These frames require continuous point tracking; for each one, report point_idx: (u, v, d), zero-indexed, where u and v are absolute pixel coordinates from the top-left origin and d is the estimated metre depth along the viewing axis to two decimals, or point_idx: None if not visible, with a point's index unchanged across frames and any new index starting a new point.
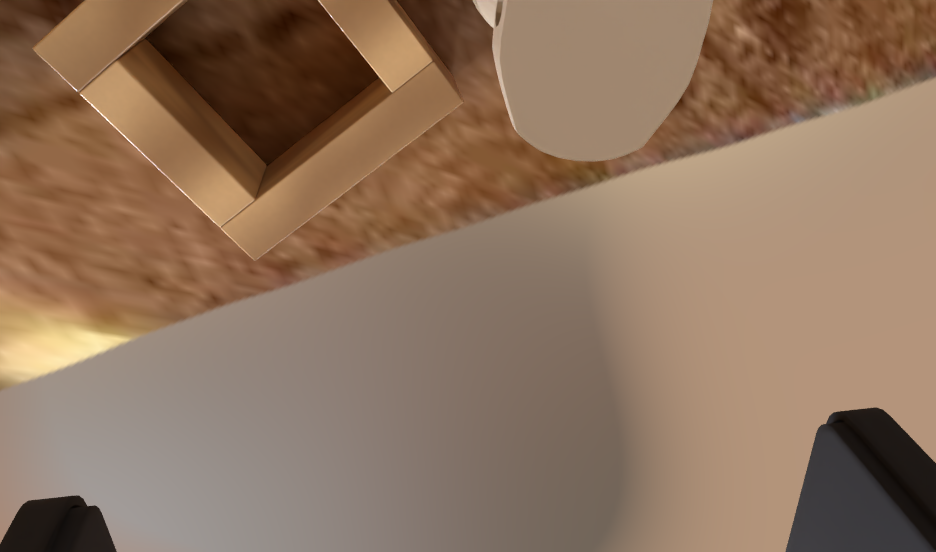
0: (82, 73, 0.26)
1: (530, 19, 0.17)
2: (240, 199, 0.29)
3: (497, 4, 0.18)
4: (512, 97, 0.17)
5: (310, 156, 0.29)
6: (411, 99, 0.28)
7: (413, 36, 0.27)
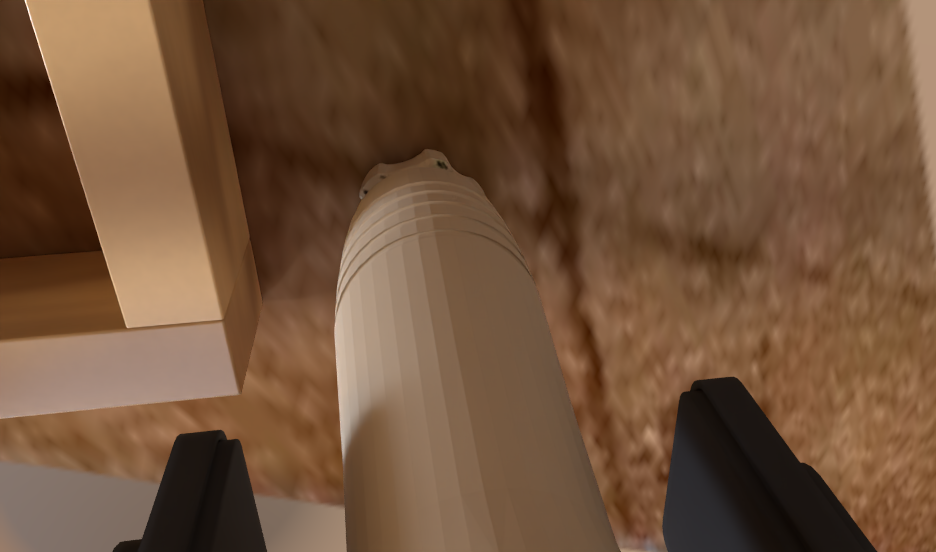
0: None
1: None
2: None
3: None
4: None
5: None
6: (154, 353, 0.16)
7: (210, 272, 0.15)
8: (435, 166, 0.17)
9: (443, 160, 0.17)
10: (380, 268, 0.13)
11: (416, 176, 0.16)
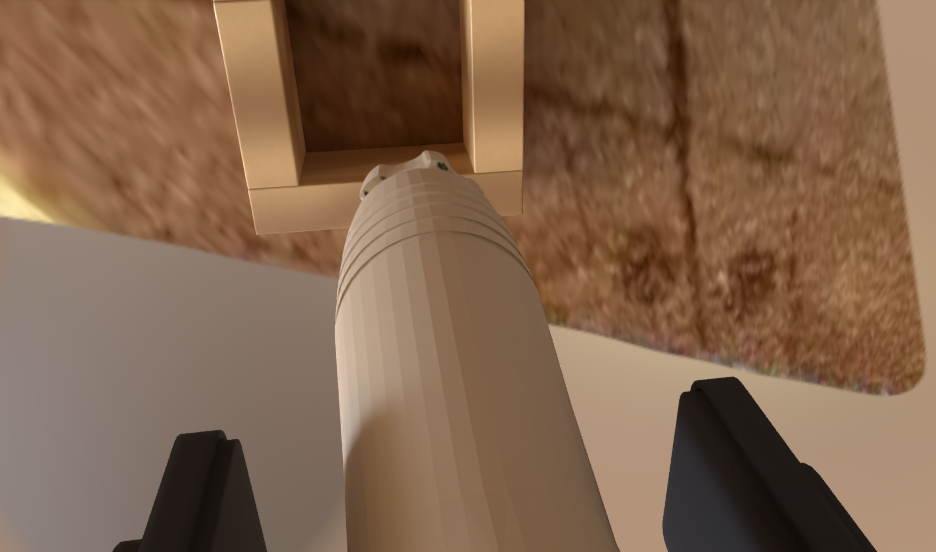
0: None
1: None
2: (285, 177, 0.29)
3: None
4: None
5: None
6: (485, 188, 0.30)
7: (522, 143, 0.29)
8: (435, 167, 0.17)
9: (443, 161, 0.17)
10: (380, 270, 0.13)
11: (416, 177, 0.16)
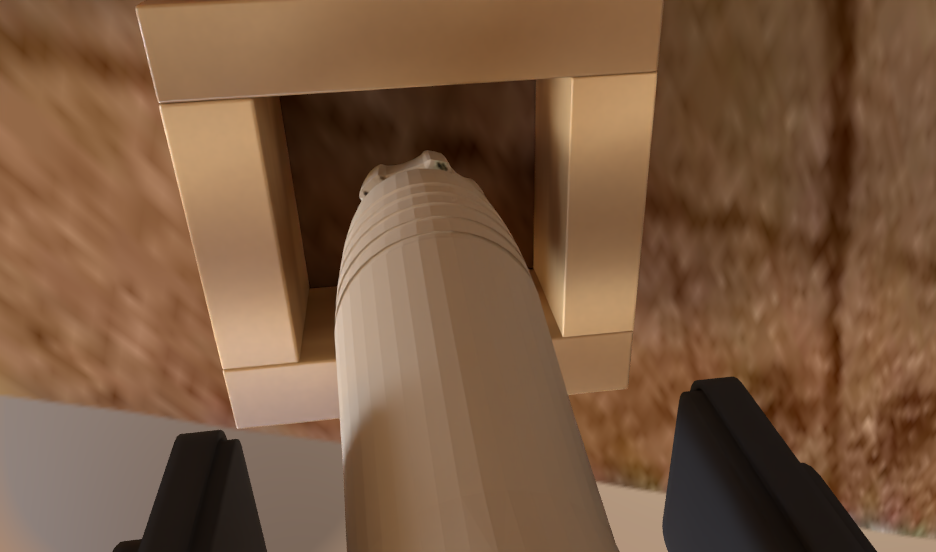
0: (186, 84, 0.15)
1: None
2: (279, 352, 0.19)
3: None
4: None
5: None
6: (577, 356, 0.20)
7: (635, 294, 0.19)
8: (435, 167, 0.17)
9: (443, 161, 0.17)
10: (380, 270, 0.13)
11: (416, 177, 0.16)
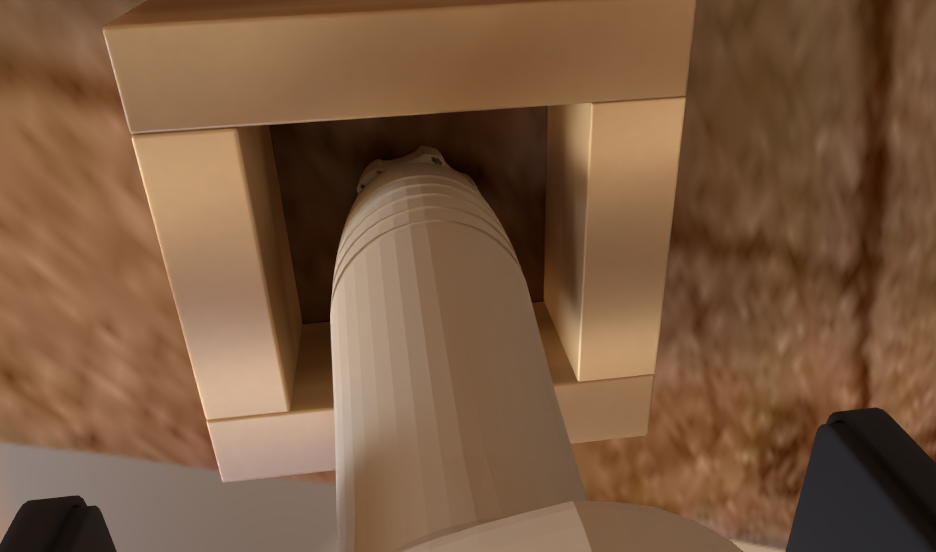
0: (162, 114, 0.14)
1: None
2: (268, 401, 0.17)
3: None
4: None
5: None
6: (593, 401, 0.18)
7: (657, 336, 0.18)
8: (430, 162, 0.18)
9: (437, 156, 0.18)
10: (373, 257, 0.13)
11: (411, 171, 0.16)
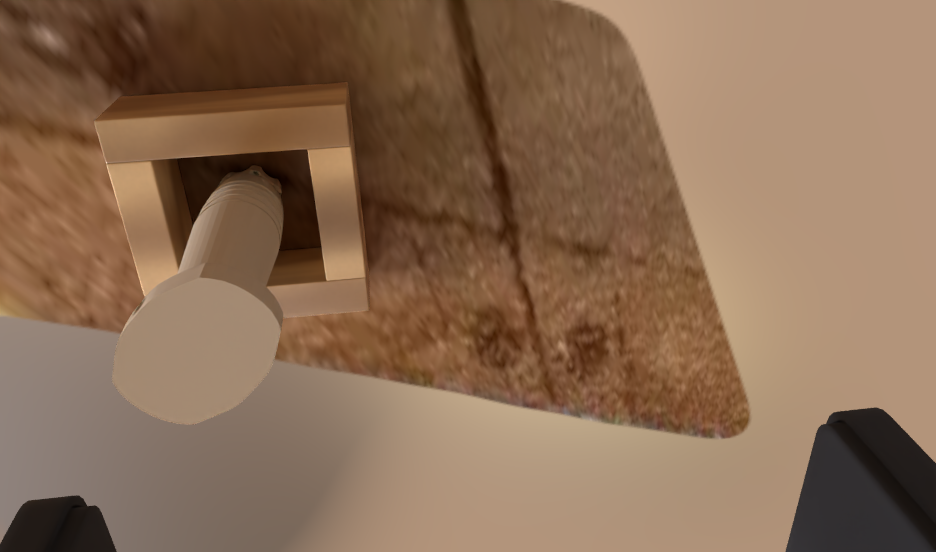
0: (119, 154, 0.33)
1: (149, 328, 0.25)
2: None
3: (144, 299, 0.26)
4: (118, 361, 0.25)
5: None
6: (336, 291, 0.38)
7: (362, 257, 0.37)
8: (252, 173, 0.37)
9: (256, 170, 0.37)
10: (204, 214, 0.32)
11: (237, 178, 0.35)
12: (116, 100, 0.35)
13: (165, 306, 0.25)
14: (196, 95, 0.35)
